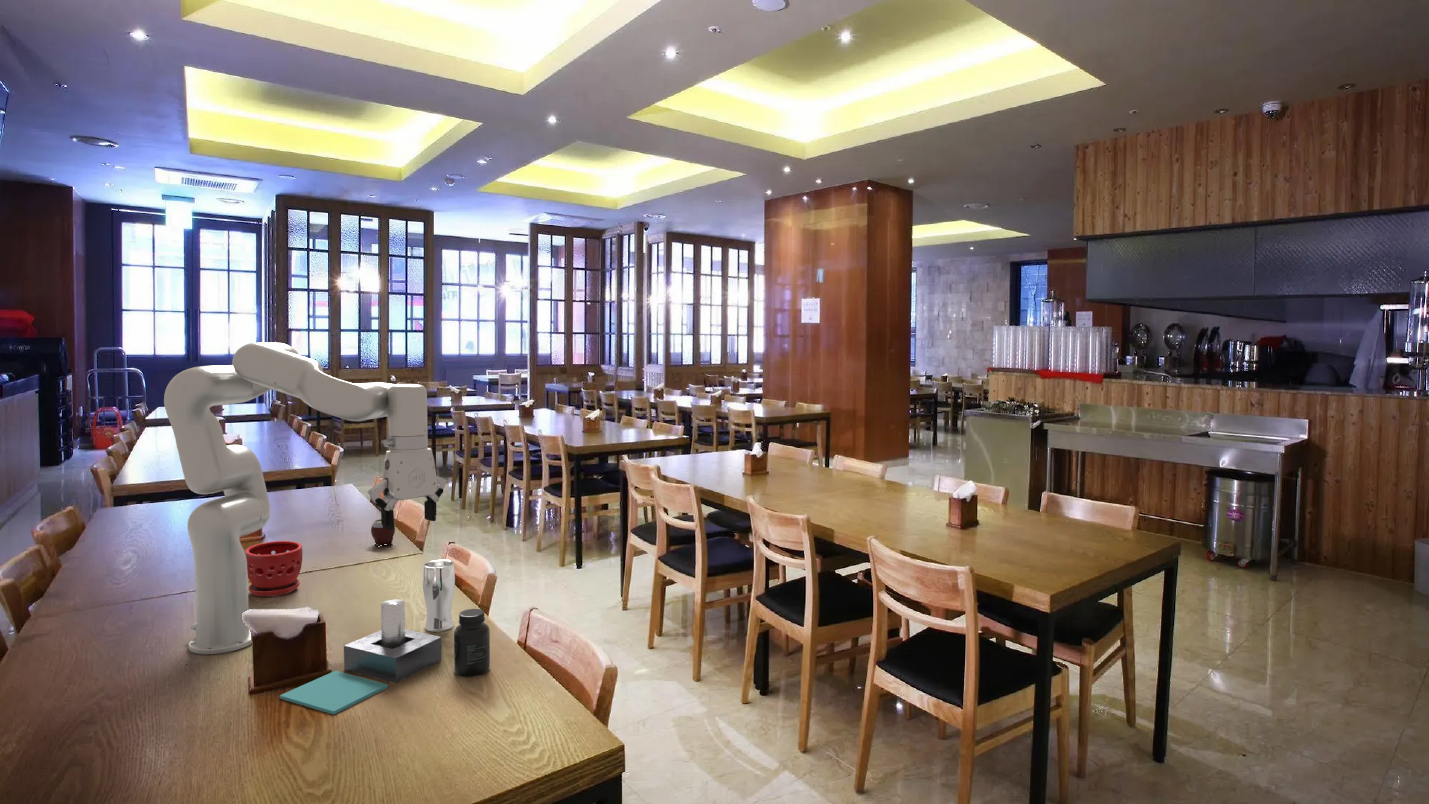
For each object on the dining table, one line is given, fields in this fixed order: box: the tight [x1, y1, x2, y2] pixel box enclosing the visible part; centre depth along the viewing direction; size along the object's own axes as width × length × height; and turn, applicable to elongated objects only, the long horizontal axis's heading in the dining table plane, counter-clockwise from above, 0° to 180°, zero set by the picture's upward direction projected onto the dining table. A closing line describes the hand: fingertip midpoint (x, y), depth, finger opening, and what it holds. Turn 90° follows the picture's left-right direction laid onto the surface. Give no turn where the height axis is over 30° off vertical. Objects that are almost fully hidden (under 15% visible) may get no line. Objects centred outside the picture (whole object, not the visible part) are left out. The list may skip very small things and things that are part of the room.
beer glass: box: [422, 559, 456, 633], centre depth 177 cm, size 7×7×15 cm
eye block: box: [343, 628, 443, 684], centre depth 157 cm, size 14×12×5 cm
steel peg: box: [380, 598, 406, 649], centre depth 156 cm, size 4×4×13 cm
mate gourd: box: [370, 500, 400, 546], centre depth 248 cm, size 8×8×15 cm
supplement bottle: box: [453, 608, 491, 678], centre depth 154 cm, size 7×7×12 cm
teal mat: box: [279, 670, 389, 715], centre depth 144 cm, size 14×12×1 cm
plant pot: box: [244, 540, 303, 598], centre depth 200 cm, size 13×13×12 cm
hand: (409, 524), depth 161 cm, fingers open, 9 cm apart
